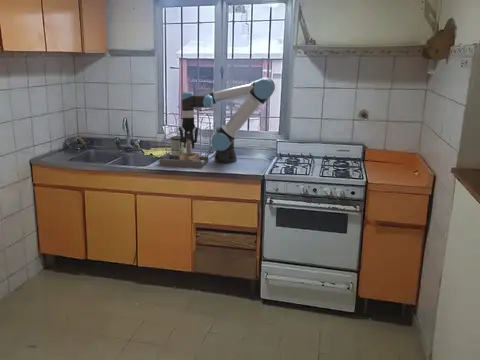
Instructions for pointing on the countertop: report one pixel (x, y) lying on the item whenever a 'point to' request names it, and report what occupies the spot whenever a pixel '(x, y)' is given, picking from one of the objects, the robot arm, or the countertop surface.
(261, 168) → the countertop surface
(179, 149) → the coffee can
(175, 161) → the tray
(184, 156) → the wooden peg stand
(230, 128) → the robot arm
